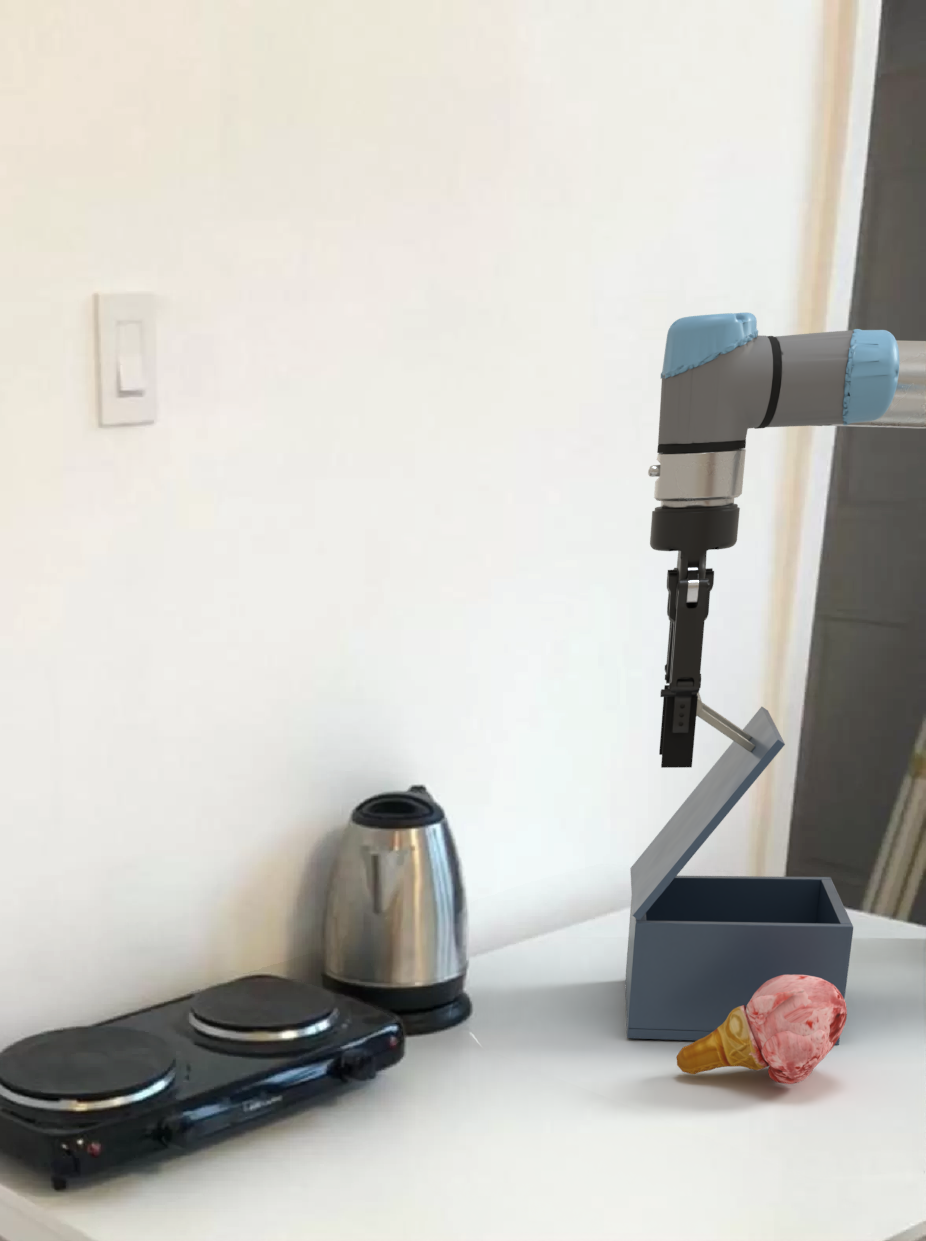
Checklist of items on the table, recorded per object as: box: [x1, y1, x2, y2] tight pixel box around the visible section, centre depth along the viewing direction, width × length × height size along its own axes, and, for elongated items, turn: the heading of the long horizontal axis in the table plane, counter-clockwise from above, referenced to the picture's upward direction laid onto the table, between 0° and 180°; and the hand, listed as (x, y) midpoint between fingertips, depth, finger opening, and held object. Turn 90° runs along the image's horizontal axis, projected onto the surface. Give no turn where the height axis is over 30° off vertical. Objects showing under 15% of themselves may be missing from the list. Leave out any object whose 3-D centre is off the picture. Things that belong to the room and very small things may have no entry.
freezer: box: [624, 875, 854, 1046], centre depth 176 cm, size 19×19×12 cm
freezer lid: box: [629, 692, 786, 920], centre depth 171 cm, size 20×19×9 cm
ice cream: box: [676, 975, 848, 1085], centre depth 160 cm, size 11×10×15 cm
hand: (675, 759), depth 170 cm, fingers closed on freezer lid, 6 cm apart
